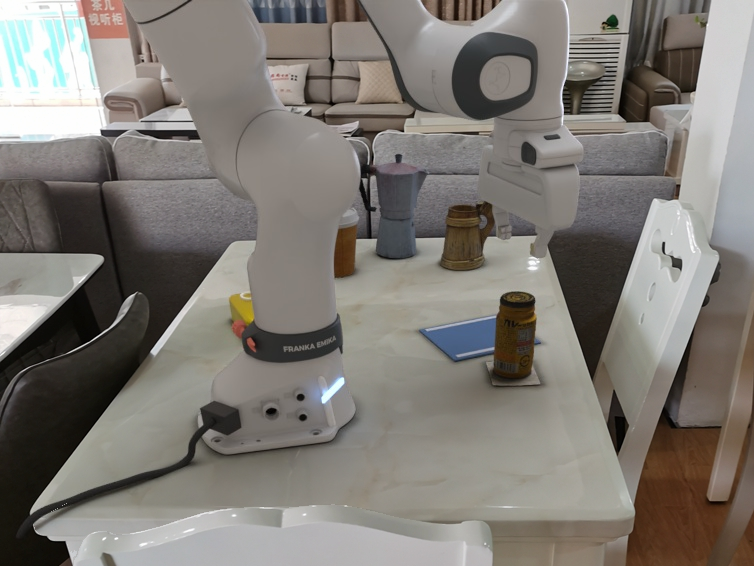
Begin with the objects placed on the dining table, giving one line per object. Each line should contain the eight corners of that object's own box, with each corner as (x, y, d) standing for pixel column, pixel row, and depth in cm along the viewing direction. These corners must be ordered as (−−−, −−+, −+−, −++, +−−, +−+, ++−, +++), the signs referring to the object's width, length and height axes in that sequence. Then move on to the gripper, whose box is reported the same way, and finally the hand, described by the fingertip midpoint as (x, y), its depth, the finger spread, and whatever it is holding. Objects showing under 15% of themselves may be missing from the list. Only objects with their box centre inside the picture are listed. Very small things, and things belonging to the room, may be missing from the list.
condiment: (531, 361, 125) (537, 287, 117) (540, 385, 118) (547, 308, 111) (485, 363, 125) (488, 289, 117) (492, 387, 118) (496, 310, 111)
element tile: (251, 347, 132) (247, 320, 129) (229, 318, 143) (225, 292, 140) (334, 331, 137) (332, 304, 134) (307, 303, 148) (304, 278, 145)
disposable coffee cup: (321, 264, 166) (316, 205, 159) (365, 265, 165) (362, 205, 158) (311, 279, 159) (306, 218, 151) (357, 280, 157) (354, 218, 150)
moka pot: (429, 259, 167) (429, 158, 155) (358, 261, 167) (352, 160, 155) (429, 246, 174) (429, 148, 162) (360, 247, 175) (355, 150, 163)
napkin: (455, 361, 125) (455, 359, 125) (419, 331, 136) (419, 329, 135) (540, 343, 130) (540, 341, 130) (499, 315, 140) (500, 313, 140)
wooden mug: (506, 269, 160) (512, 175, 149) (441, 271, 161) (441, 177, 150) (502, 256, 167) (507, 165, 156) (440, 257, 168) (440, 167, 157)
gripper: (468, 129, 108) (466, 231, 116) (548, 156, 93) (538, 271, 101) (508, 124, 110) (503, 225, 118) (592, 150, 95) (579, 264, 103)
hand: (520, 247), depth 110 cm, fingers open, 8 cm apart
